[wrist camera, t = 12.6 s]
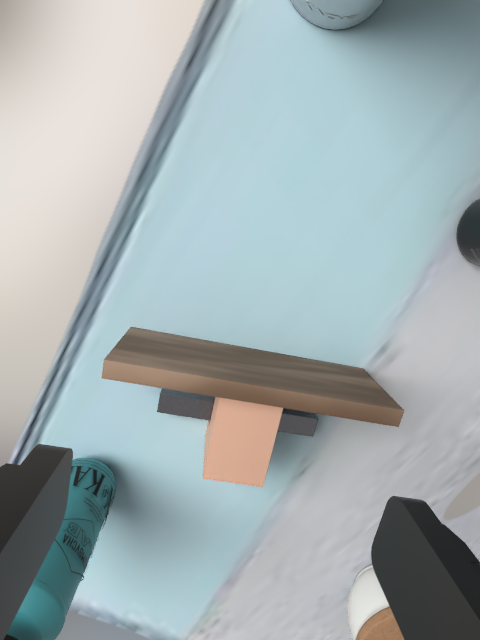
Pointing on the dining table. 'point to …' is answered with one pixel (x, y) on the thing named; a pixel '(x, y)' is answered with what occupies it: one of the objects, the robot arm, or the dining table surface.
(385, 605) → the lidded jar
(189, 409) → the rail
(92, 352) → the dining table surface
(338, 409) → the wall board
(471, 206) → the supplement bottle
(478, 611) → the robot arm
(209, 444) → the cabinet block
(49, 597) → the beverage bottle
